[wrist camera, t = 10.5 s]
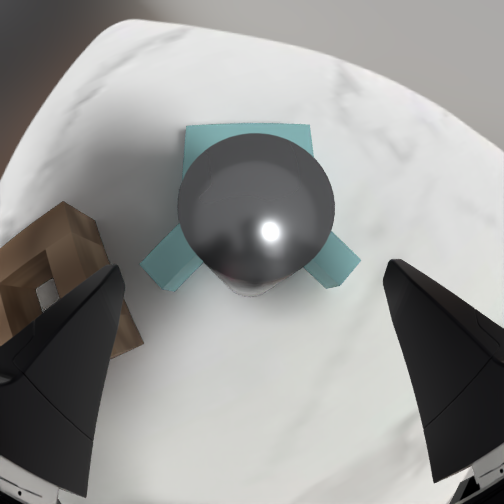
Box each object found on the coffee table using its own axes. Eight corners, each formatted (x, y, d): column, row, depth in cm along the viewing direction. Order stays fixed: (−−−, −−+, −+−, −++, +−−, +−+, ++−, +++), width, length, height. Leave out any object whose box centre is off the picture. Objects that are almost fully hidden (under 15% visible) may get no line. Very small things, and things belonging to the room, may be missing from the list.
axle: (287, 265, 19) (361, 193, 7) (253, 308, 19) (270, 315, 6) (245, 232, 20) (245, 110, 7) (211, 273, 19) (146, 213, 6)
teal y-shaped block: (346, 287, 19) (362, 284, 16) (154, 291, 19) (138, 289, 16) (332, 148, 21) (343, 127, 18) (162, 150, 21) (151, 129, 18)
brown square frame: (144, 343, 18) (116, 353, 14) (50, 385, 17) (16, 397, 13) (94, 220, 20) (63, 201, 15) (12, 275, 19) (-23, 268, 14)
